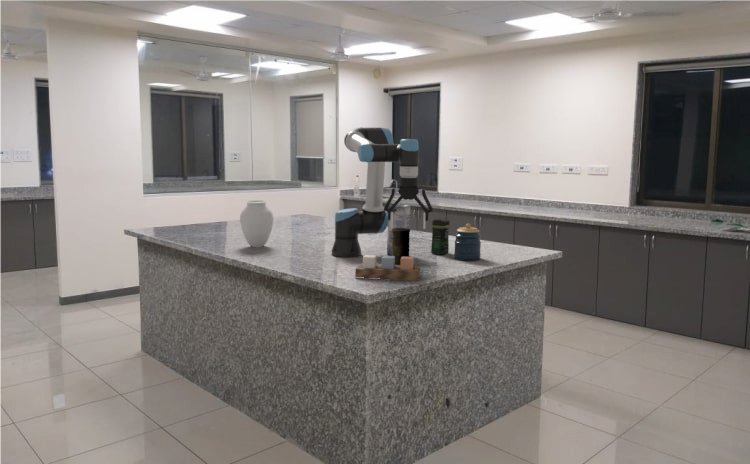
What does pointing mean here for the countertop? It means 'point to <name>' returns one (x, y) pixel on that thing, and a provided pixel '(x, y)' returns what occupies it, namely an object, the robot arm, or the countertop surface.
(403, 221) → the juice carton
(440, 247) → the coffee jar
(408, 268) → the terracotta key
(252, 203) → the vase
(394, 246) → the container
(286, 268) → the countertop surface
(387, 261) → the slate key
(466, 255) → the canister
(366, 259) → the ivory key
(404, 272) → the key panel
